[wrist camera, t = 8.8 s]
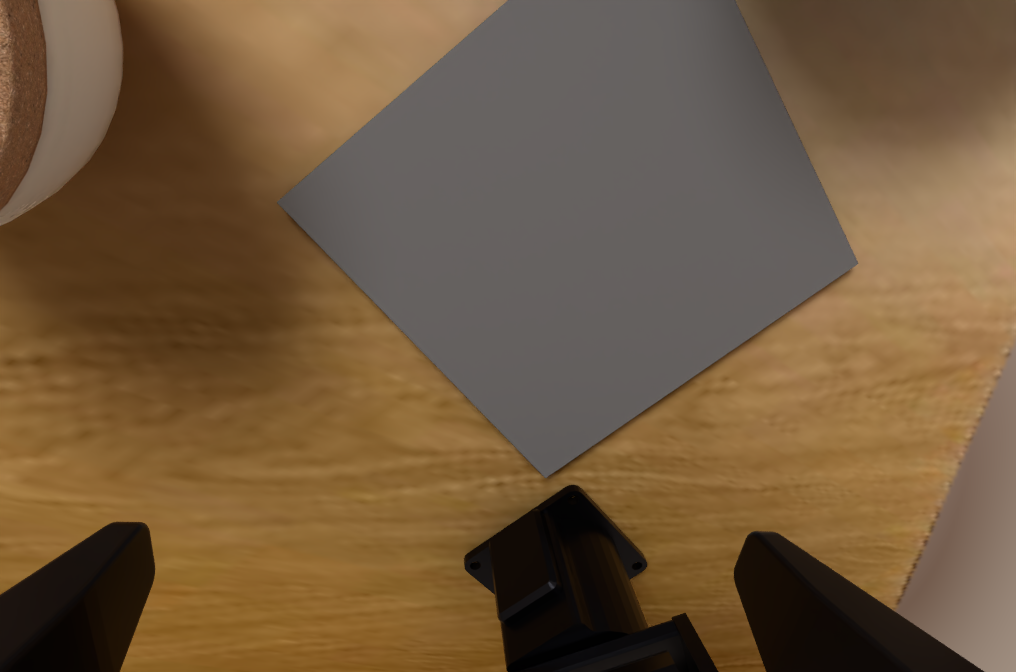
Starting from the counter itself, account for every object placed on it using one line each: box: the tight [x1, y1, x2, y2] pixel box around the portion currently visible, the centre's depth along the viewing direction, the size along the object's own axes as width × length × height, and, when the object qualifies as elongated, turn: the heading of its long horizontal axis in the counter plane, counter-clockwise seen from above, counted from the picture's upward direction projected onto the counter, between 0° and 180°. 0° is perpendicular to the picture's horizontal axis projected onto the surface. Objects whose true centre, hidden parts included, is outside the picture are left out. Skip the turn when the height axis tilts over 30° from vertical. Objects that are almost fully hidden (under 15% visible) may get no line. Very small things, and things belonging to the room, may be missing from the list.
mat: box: [277, 0, 858, 478], centre depth 20 cm, size 15×15×1 cm
